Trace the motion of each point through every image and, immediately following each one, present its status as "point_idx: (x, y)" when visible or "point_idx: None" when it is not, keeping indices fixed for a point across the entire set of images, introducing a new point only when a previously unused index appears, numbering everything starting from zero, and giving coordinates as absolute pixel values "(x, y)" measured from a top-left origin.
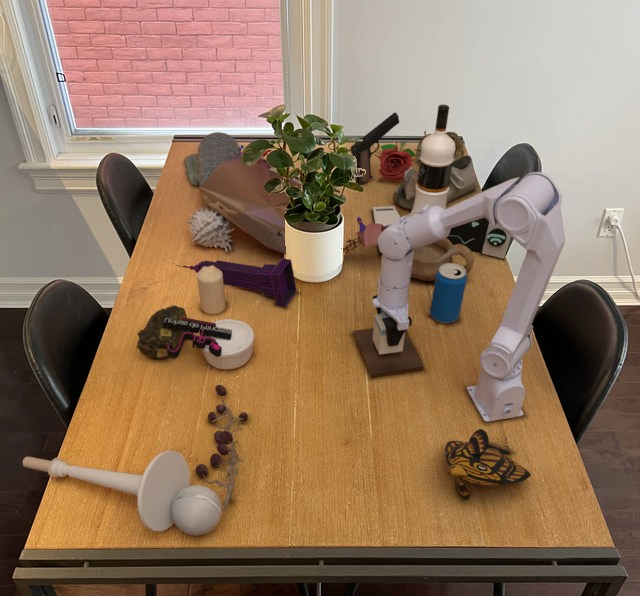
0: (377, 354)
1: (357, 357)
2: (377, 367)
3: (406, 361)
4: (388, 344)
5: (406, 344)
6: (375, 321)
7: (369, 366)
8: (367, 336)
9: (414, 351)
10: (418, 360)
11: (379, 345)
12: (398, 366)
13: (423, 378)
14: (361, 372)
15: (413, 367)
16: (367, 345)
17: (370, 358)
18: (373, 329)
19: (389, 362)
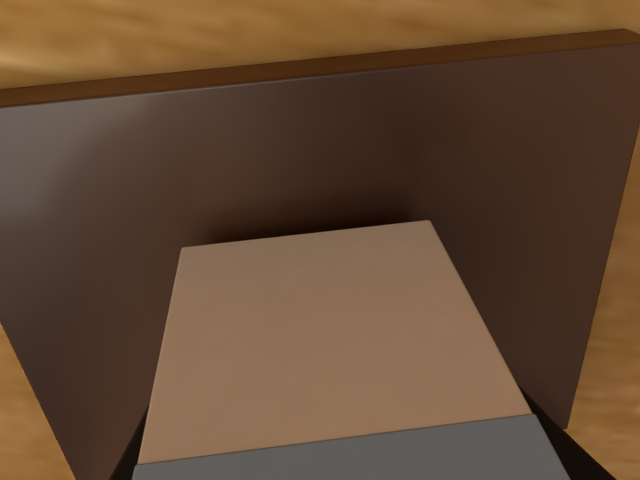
0: (227, 221)
1: (270, 9)
2: (20, 192)
3: (128, 411)
4: (141, 421)
5: None
6: (473, 447)
7: (28, 115)
8: (515, 171)
9: None
10: None
11: (193, 310)
12: (58, 357)
13: (7, 451)
14: (18, 8)
15: (58, 442)
16: (379, 150)
17: (166, 147)
18: (468, 301)
19: (112, 300)
